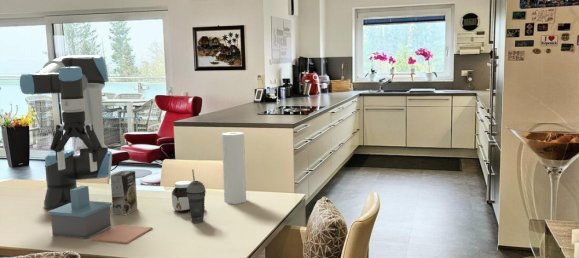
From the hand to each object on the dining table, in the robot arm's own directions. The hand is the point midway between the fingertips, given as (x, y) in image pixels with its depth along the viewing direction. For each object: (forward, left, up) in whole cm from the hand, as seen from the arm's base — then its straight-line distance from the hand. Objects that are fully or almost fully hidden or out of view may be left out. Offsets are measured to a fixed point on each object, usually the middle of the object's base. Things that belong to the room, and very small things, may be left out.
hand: (77, 170), depth 184 cm
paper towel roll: (+39, +50, -23) cm, 67 cm away
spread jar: (+26, +33, -23) cm, 48 cm away
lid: (0, 0, -16) cm, 16 cm away
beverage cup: (+36, +20, -23) cm, 47 cm away
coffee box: (+1, +25, -23) cm, 34 cm away
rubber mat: (+17, 0, -23) cm, 28 cm away
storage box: (0, 0, -23) cm, 23 cm away
